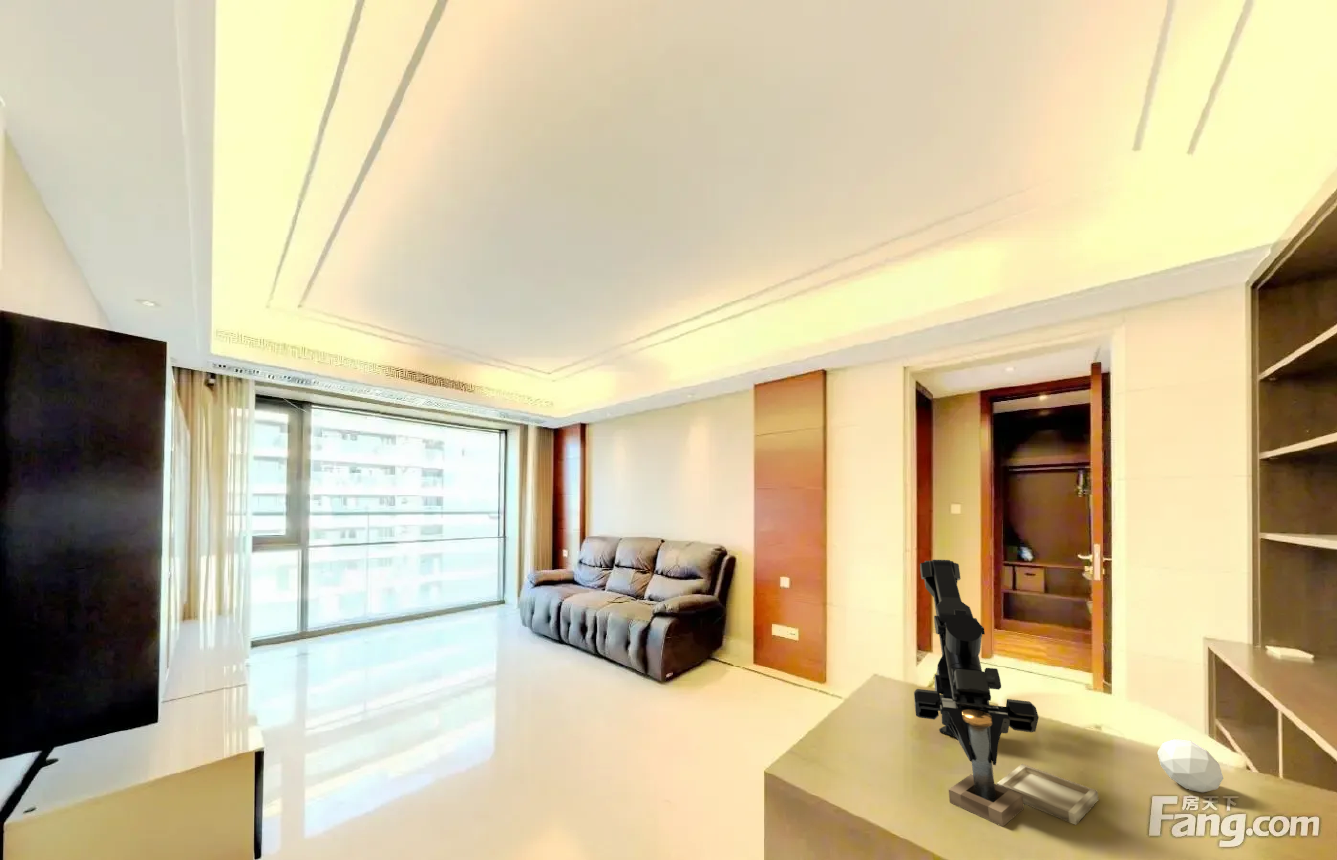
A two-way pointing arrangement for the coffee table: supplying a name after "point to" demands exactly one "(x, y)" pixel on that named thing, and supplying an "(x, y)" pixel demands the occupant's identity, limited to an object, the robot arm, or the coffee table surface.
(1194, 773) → the geometric ball
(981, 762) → the pin
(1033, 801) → the tray
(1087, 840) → the coffee table surface
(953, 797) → the block
